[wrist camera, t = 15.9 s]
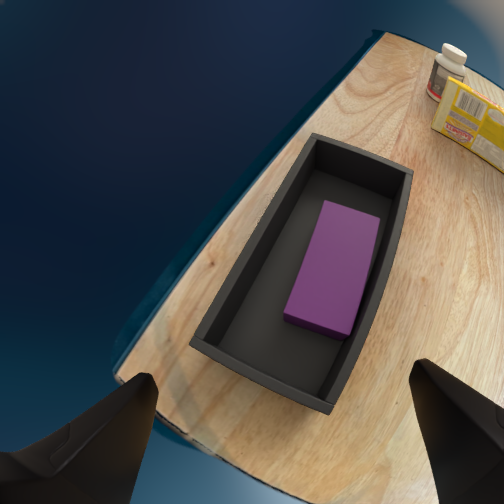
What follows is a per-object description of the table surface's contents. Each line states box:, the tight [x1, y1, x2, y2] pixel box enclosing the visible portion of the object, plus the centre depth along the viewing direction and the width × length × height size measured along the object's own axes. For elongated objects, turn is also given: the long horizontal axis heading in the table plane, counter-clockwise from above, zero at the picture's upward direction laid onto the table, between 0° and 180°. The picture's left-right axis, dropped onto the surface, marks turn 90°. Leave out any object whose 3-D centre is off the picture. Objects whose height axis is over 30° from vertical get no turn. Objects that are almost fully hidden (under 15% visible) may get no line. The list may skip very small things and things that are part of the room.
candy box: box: [431, 76, 504, 173], centre depth 21 cm, size 16×2×8 cm, turn 57°
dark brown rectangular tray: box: [189, 133, 414, 415], centre depth 19 cm, size 19×9×4 cm, turn 152°
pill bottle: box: [427, 44, 467, 103], centre depth 26 cm, size 5×5×10 cm
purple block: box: [283, 200, 380, 341], centre depth 19 cm, size 4×3×9 cm
